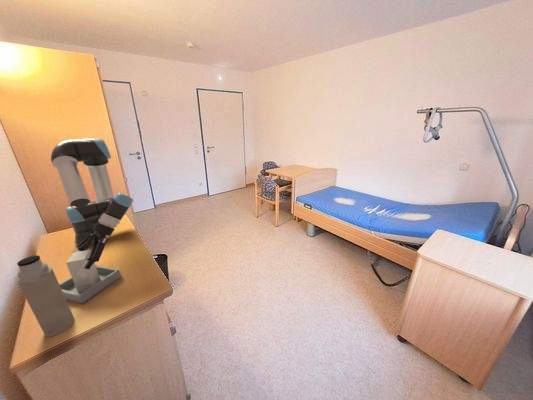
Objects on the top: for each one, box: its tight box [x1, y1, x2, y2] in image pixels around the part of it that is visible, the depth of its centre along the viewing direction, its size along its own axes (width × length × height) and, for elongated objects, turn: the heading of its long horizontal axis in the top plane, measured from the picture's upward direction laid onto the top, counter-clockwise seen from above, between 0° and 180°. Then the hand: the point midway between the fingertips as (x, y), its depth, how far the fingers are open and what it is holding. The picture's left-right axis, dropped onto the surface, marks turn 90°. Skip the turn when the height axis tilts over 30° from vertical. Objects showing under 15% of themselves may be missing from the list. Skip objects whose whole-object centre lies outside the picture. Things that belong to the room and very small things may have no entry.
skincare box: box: [65, 248, 100, 293], centre depth 92 cm, size 8×7×16 cm
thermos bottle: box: [16, 255, 75, 337], centre depth 71 cm, size 8×8×28 cm
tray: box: [59, 264, 122, 306], centre depth 95 cm, size 17×17×4 cm
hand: (75, 270), depth 90 cm, fingers open, 13 cm apart
